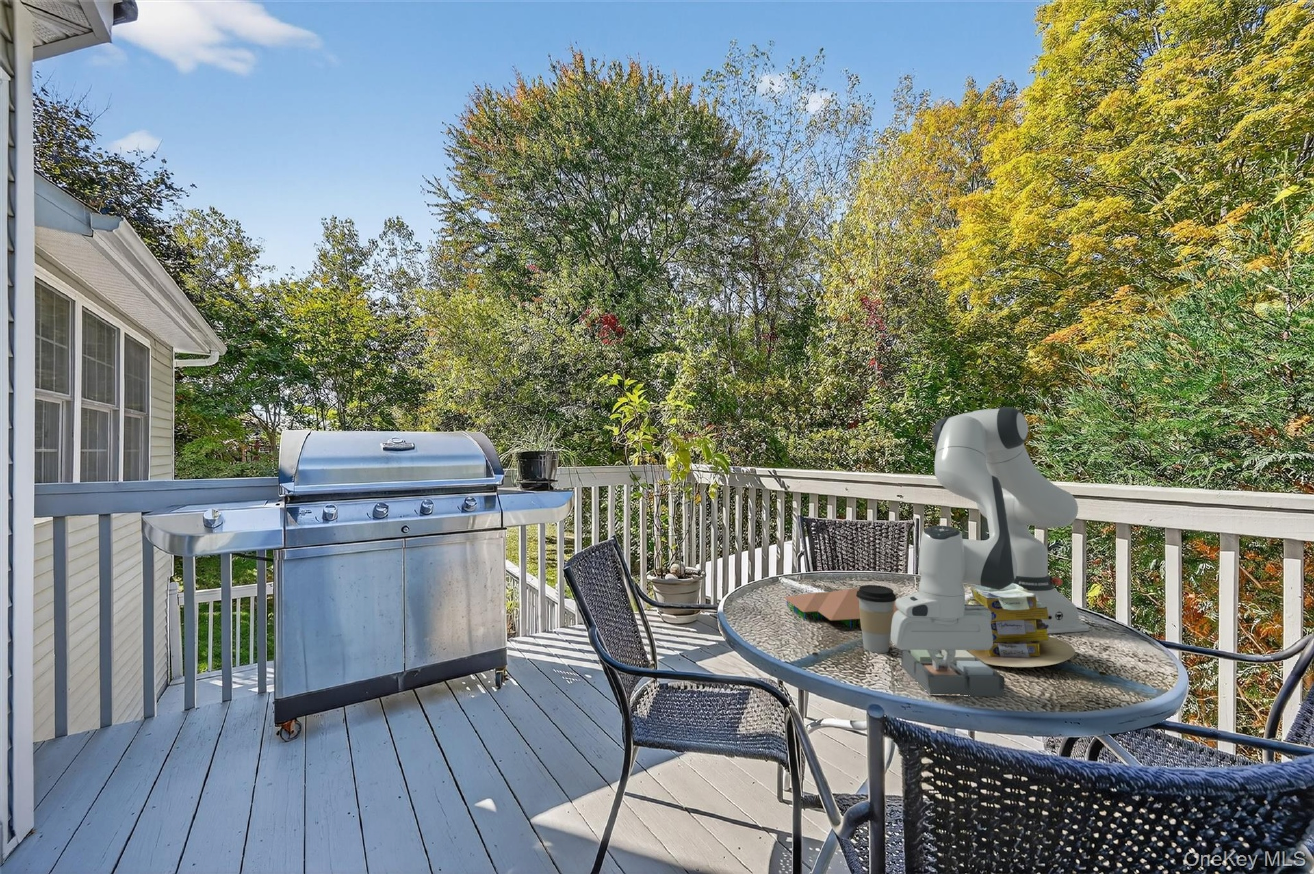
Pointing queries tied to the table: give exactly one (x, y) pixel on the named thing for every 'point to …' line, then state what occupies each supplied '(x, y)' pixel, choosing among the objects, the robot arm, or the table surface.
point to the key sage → (923, 655)
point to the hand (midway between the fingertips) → (941, 669)
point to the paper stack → (1018, 629)
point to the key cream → (961, 656)
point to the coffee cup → (876, 616)
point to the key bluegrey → (974, 668)
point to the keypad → (952, 678)
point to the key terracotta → (939, 671)
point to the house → (829, 605)
